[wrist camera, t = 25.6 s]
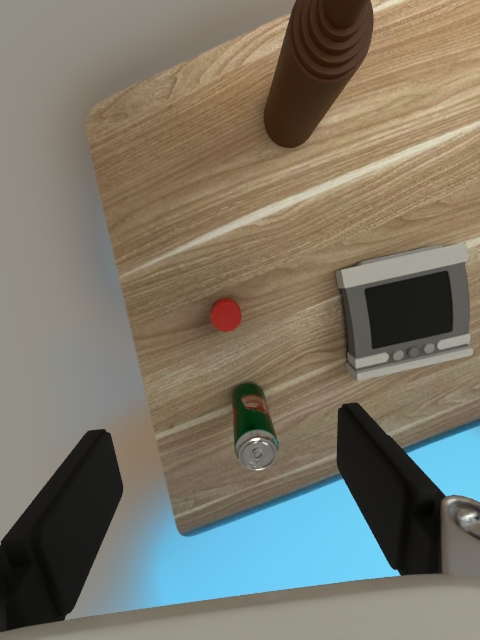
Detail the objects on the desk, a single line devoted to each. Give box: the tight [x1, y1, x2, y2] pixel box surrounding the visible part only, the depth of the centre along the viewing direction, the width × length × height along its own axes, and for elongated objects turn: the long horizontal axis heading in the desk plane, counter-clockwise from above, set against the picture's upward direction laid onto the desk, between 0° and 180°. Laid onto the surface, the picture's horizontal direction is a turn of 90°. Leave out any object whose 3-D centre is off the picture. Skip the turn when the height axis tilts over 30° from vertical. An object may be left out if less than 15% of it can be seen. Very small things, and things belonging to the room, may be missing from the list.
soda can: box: [232, 384, 278, 470], centre depth 33 cm, size 5×5×12 cm
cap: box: [211, 298, 241, 331], centre depth 34 cm, size 4×4×3 cm
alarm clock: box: [335, 242, 473, 381], centre depth 35 cm, size 17×5×16 cm
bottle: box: [264, 0, 373, 148], centre depth 22 cm, size 6×6×17 cm
